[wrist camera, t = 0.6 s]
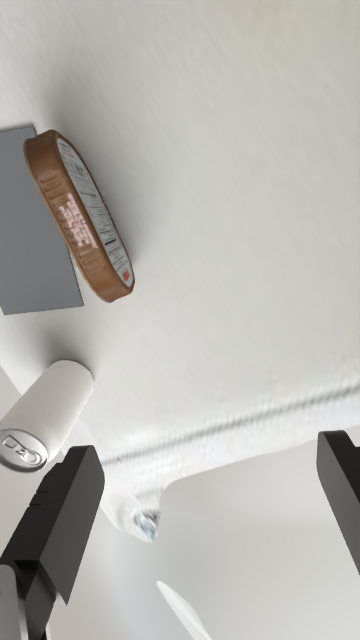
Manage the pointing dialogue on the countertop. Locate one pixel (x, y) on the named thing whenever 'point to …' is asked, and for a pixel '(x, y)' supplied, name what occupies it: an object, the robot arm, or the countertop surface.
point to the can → (44, 417)
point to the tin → (79, 214)
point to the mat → (30, 239)
